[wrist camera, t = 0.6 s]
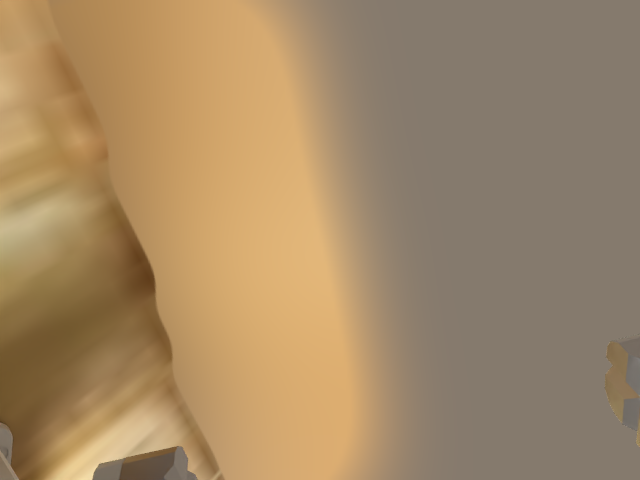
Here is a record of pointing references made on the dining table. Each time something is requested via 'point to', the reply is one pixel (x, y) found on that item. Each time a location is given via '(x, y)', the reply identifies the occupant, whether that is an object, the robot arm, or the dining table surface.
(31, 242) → the dining table surface
